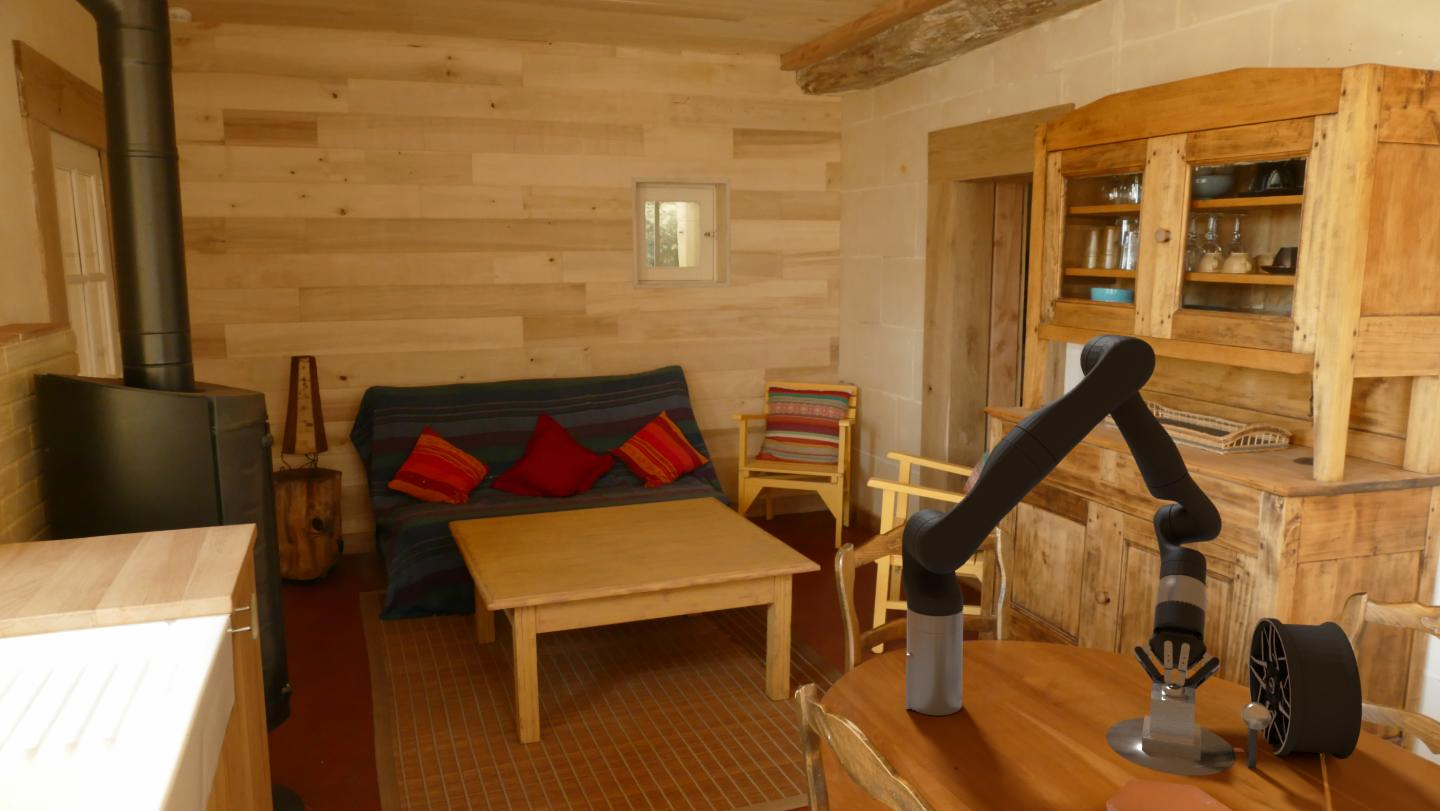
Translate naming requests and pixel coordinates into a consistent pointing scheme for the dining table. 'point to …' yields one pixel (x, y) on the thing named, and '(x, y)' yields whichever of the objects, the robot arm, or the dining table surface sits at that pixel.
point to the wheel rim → (1306, 687)
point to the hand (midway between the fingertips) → (1172, 710)
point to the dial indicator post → (1254, 728)
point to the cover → (1172, 722)
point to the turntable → (1213, 755)
